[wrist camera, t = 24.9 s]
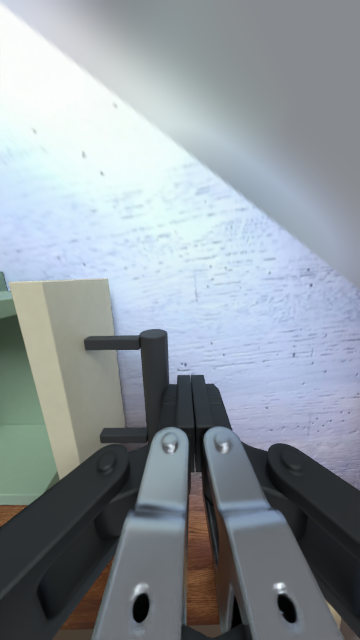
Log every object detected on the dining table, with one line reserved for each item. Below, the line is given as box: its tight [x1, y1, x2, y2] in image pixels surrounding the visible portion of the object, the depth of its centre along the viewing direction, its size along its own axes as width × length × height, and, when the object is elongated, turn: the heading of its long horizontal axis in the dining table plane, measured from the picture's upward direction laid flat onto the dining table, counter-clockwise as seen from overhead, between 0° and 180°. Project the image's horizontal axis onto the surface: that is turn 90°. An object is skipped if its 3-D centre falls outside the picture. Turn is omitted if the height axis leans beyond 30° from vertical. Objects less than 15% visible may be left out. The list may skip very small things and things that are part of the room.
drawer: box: [0, 279, 169, 505], centre depth 11 cm, size 19×12×6 cm, turn 91°
